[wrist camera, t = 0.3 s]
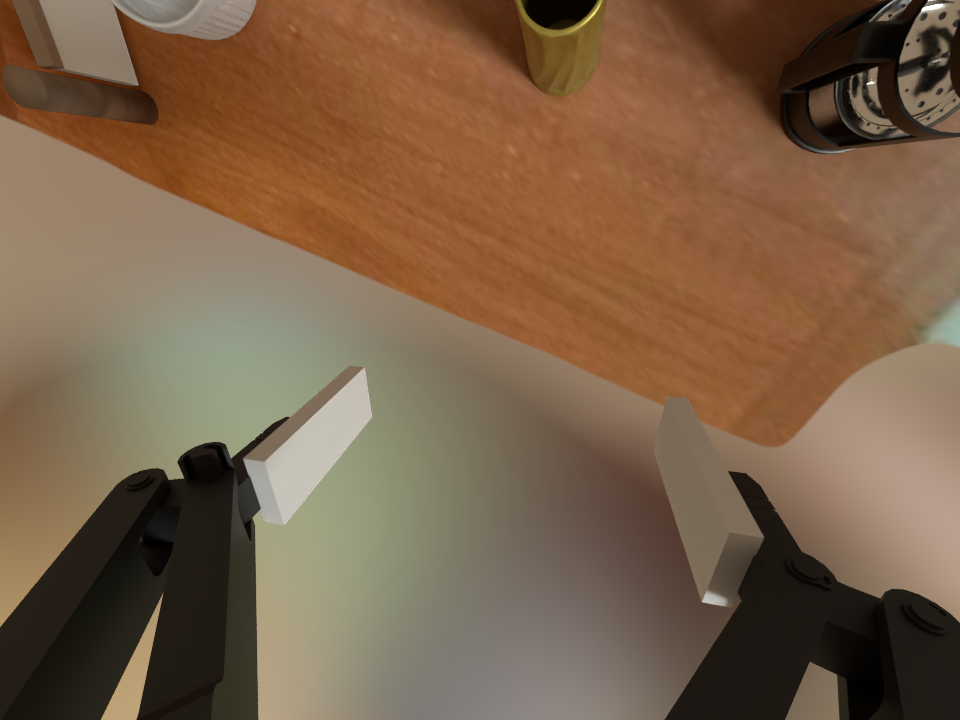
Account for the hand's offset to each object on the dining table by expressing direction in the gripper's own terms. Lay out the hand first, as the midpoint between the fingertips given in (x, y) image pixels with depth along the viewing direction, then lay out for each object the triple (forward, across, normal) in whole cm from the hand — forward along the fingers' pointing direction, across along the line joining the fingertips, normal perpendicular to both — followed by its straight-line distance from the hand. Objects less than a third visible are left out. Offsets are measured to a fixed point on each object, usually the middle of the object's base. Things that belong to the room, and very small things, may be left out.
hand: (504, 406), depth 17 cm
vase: (+28, +1, +19) cm, 33 cm away
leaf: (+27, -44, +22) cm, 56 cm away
